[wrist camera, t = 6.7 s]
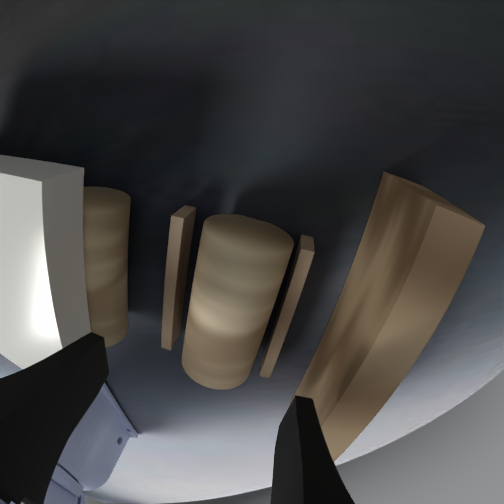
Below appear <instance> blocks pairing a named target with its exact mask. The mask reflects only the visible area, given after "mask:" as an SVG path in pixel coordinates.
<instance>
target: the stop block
mask: <svg viewBox="0 0 504 504" xmlns="http://www.w3.org/2000/svg"><path fill="white" fill-rule="evenodd" d="M484 228H485V225H484V224H482V223H481V222H479V221H478V220H476V219H475V218H473V217H472V216H470V215H469V214H467V213H466V212H464V211H463V210H461V209H460V208H458V207H457V206H455V205H453V204H452V203H450V202H449V201H447V200H445V199H444V198H442V197H440V196H439V195H437V194H435V193H434V192H432V191H430V190H429V189H427V188H425V187H424V186H422V185H420V184H417V183H415V182H412V181H409V180H407V179H404V178H401V177H399V176H396V175H393V174H390V173H387V172H383V175H382V179H381V182H380V185H379V189H378V192H377V195H376V198H375V201H374V204H373V207H372V210H371V213H370V216H369V219H368V222H367V225H366V228H365V231H364V234H363V237H362V239H361V242H360V245H359V248H358V250H357V253H356V256H355V258H354V261H353V264H352V266H351V269H350V272H349V274H348V277H347V279H346V282H345V284H344V287H343V289H342V292H341V294H340V297H339V299H338V301H337V304H336V306H335V309H334V311H333V313H332V316H331V318H330V320H329V323H328V325H327V327H326V329H325V332H324V334H323V336H322V338H321V341H320V343H319V345H318V347H317V349H316V351H315V354H314V356H313V358H312V360H311V362H310V364H309V366H308V368H307V370H306V372H305V375H304V377H303V379H302V381H301V383H300V385H299V387H298V389H297V391H296V393H295V394H294V396H293V398H292V400H291V402H290V404H291V403H292V401H293V399H294V397H295V395H297V396H302V397H307V398H312V399H313V401H314V405H315V408H316V412H317V416H318V419H319V423H320V426H321V429H322V432H323V435H324V438H325V441H326V443H327V446H328V449H329V452H330V454H331V457H332V459H333V462H334V461H335V460H336V459H337V458H338V457H339V456H340V455H341V454H342V453H343V452H344V451H345V450H346V449H347V448H348V447H349V446H350V444H351V443H352V442H353V441H354V440H355V439H356V438H357V437H358V436H359V434H360V433H361V432H362V431H363V430H364V429H365V427H366V426H367V425H368V424H369V423H370V422H371V420H372V419H373V418H374V417H375V416H376V414H377V413H378V412H379V411H380V409H381V408H382V407H383V406H384V404H385V403H386V402H387V400H388V399H389V398H390V396H391V395H392V394H393V392H394V391H395V390H396V388H397V387H398V386H399V384H400V383H401V382H402V380H403V379H404V377H405V376H406V375H407V373H408V372H409V370H410V369H411V367H412V366H413V364H414V363H415V361H416V360H417V358H418V357H419V355H420V354H421V352H422V351H423V349H424V347H425V346H426V344H427V343H428V341H429V339H430V338H431V336H432V335H433V333H434V331H435V329H436V328H437V326H438V324H439V323H440V321H441V319H442V317H443V316H444V314H445V312H446V310H447V308H448V307H449V305H450V303H451V301H452V299H453V297H454V295H455V293H456V291H457V289H458V287H459V285H460V283H461V281H462V279H463V277H464V275H465V273H466V271H467V269H468V266H469V264H470V262H471V260H472V257H473V255H474V253H475V251H476V248H477V246H478V243H479V241H480V238H481V236H482V233H483V231H484Z"/></svg>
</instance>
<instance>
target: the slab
mask: <svg viewBox="0 0 504 504" xmlns="http://www.w3.org/2000/svg"><path fill="white" fill-rule="evenodd" d="M83 183H84V168H82V167H77V166H71V165H65V164H59V163H53V162H46V161H40V160H34V159H27V158H20V157H13V156H6V155H0V354H2V355H3V356H5V357H6V358H7V359H9V360H10V361H12V362H13V363H14V364H16V365H17V366H19V367H20V368H22V369H25V368H27V367H29V366H31V365H33V364H35V363H37V362H39V361H41V360H43V359H45V358H47V357H48V356H50V355H52V354H54V353H56V352H57V351H59V350H61V349H63V348H64V347H66V346H68V345H69V344H71V343H73V342H74V341H76V340H78V339H79V338H81V337H83V336H85V335H86V334H88V333H90V332H91V327H90V320H89V312H88V303H87V294H86V282H85V269H84V250H83Z"/></svg>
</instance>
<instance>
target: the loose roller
mask: <svg viewBox="0 0 504 504" xmlns="http://www.w3.org/2000/svg"><path fill="white" fill-rule="evenodd" d="M293 247H294V241H293V239H292V238H291V236H290V235H289V234H288V233H286V232H285V231H284V230H282V229H281V228H279V227H277V226H275V225H273V224H271V223H268V222H264V221H261V220H257V219H254V218H250V217H247V216H243V215H238V214H217V215H213V216H210V217H208V218H207V219H206V220H205V221H204V224H203V229H202V234H201V240H200V245H199V251H198V256H197V262H196V268H195V273H194V279H193V285H192V291H191V298H190V304H189V310H188V317H187V324H186V330H185V337H184V345H183V352H182V365H183V368H184V370H185V372H186V373H187V375H188V376H189V377H190V378H191V379H192V380H194V381H195V382H197V383H198V384H200V385H202V386H205V387H208V388H211V389H218V390H225V389H231V388H235V387H237V386H239V385H241V384H242V383H244V382H245V381H246V379H247V378H248V376H249V374H250V371H251V369H252V366H253V363H254V360H255V358H256V355H257V352H258V349H259V347H260V344H261V341H262V338H263V335H264V332H265V330H266V327H267V324H268V321H269V318H270V315H271V312H272V310H273V307H274V304H275V301H276V298H277V295H278V292H279V289H280V286H281V283H282V280H283V277H284V274H285V271H286V268H287V265H288V262H289V259H290V256H291V253H292V250H293Z"/></svg>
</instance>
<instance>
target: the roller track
mask: <svg viewBox="0 0 504 504" xmlns="http://www.w3.org/2000/svg"><path fill="white" fill-rule="evenodd" d="M130 203H131V198H130V196H129V195H128V194H127V193H125V192H123V191H120V190H117V189H113V188H107V187H83V250H84V269H85V282H86V294H87V303H88V312H89V320H90V327H91V332H93V333H95V334H97V335H100V336H102V337H104V340H105V348H106V347H110V346H113V345H115V344H117V343H118V342H120V341H121V340H122V339H123V338H124V337H125V336H126V334H127V332H128V287H127V278H128V236H129V217H130ZM196 209H197V208H196V207H192V206H188V205H185V206H183V207H182V208H181V209H179V210H178V211H177V212H175V213H174V214H173V215H171V222H170V231H169V240H168V250H167V261H166V272H165V285H164V299H163V316H162V338H161V347H162V348H165V349H167V350H170V351H171V349H172V347H173V346H174V344H175V342H176V340H177V338H178V337H179V335H180V333H181V327H182V317H183V307H184V298H185V290H186V281H187V273H188V265H189V257H190V250H191V243H192V236H193V229H194V222H195V215H196ZM314 253H315V250H314V239H313V237H311V236H307V235H303V234H301V237H300V240H299V244H298V247H297V250H296V254H295V257H294V260H293V264H292V267H291V270H290V273H289V277H288V280H287V283H286V286H285V290H284V293H283V296H282V299H281V302H280V305H279V309H278V312H277V315H276V318H275V321H274V324H273V327H272V330H271V333H270V336H269V339H268V342H267V345H266V348H265V351H264V354H263V359H262V364H261V369H260V374H259V376H261V377H265V378H270V376H271V373H272V371H273V368H274V366H275V363H276V361H277V358H278V355H279V353H280V350H281V347H282V345H283V342H284V339H285V337H286V334H287V331H288V328H289V326H290V323H291V320H292V317H293V315H294V312H295V309H296V306H297V303H298V300H299V298H300V295H301V292H302V289H303V286H304V283H305V280H306V277H307V274H308V271H309V268H310V265H311V262H312V259H313V256H314Z"/></svg>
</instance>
